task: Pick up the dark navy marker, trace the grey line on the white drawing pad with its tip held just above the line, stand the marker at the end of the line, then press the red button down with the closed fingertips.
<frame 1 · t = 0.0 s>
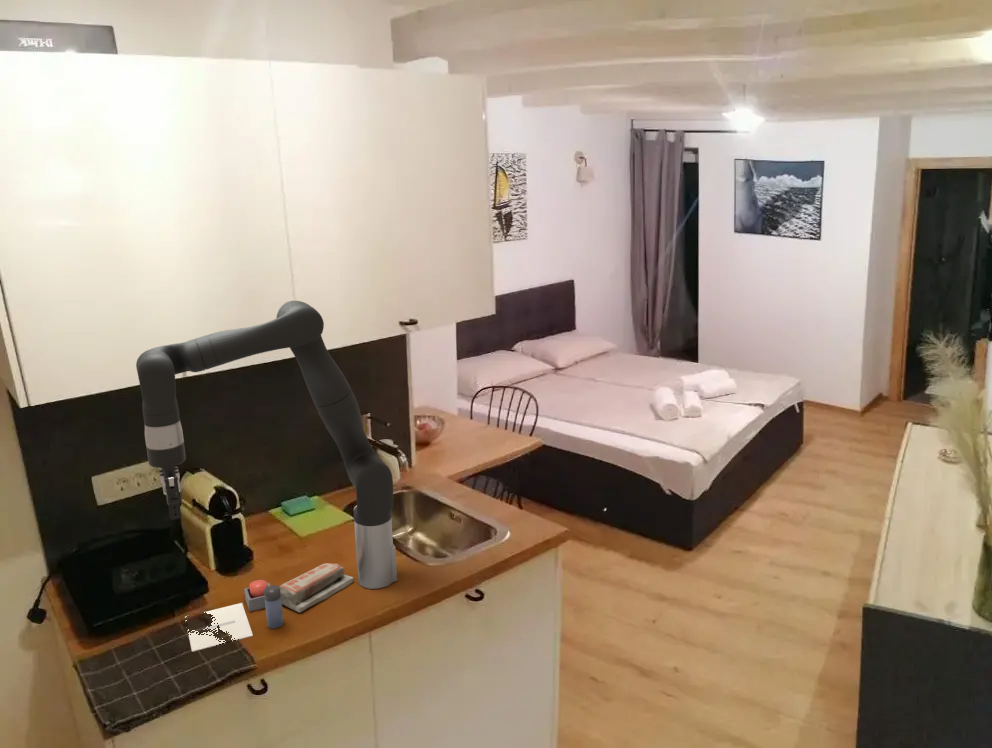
hand: (174, 510, 173), 29 cm above the countertop, tool pointing down, fingers open, 8 cm apart
packaged product: (314, 592, 195), on the countertop, touching button base
done button: (258, 589, 190), point 3 cm above the countertop, slide at 0.0 cm
marker: (275, 623, 182), on the countertop
button base: (260, 602, 191), on the countertop
drawing pad: (218, 626, 181), on the countertop
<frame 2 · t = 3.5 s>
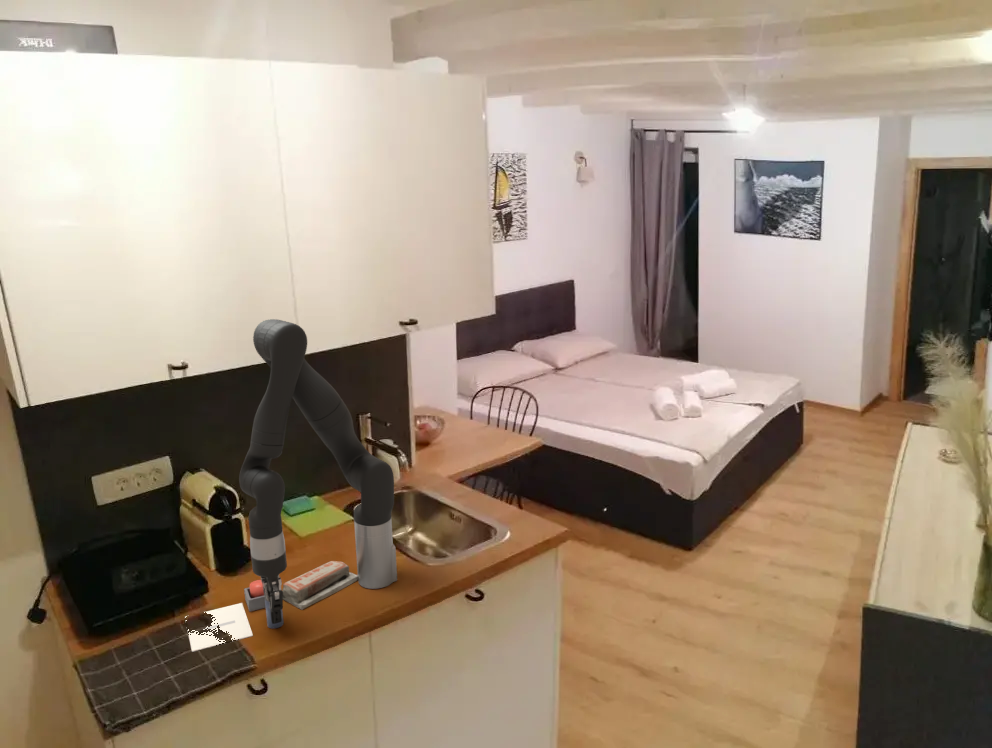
hand: (274, 617, 182), 2 cm above the countertop, tool pointing down, fingers closed on marker, 3 cm apart
packaged product: (319, 590, 197), on the countertop
marker: (275, 624, 182), on the countertop, touching gripper
everything else where it was.
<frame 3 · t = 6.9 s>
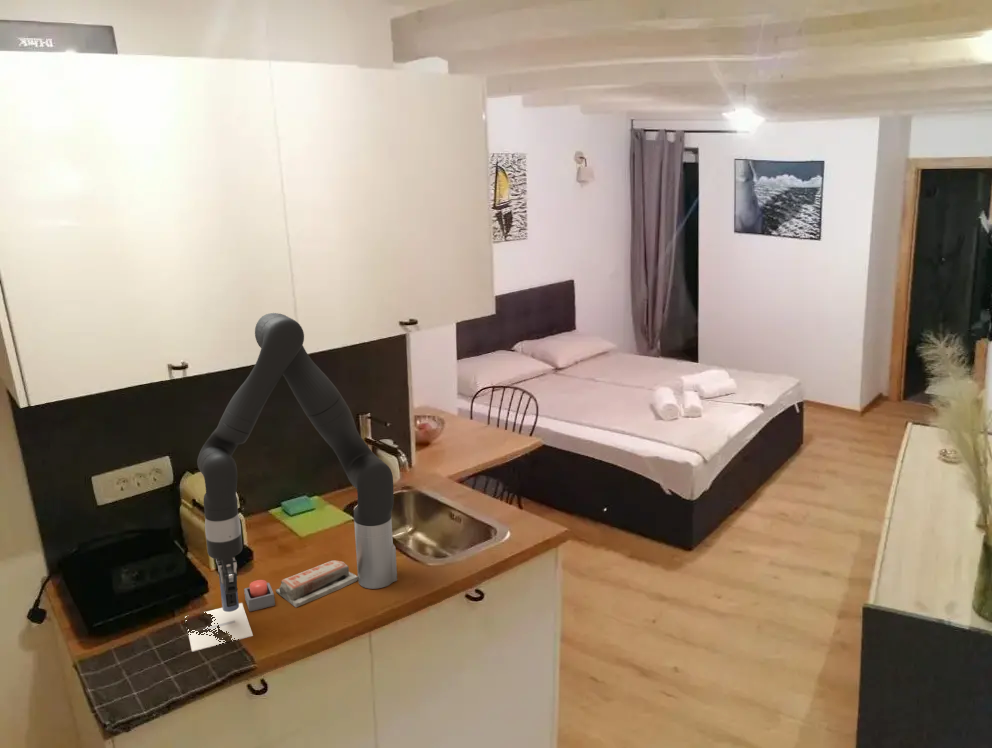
hand: (230, 600, 181), 6 cm above the countertop, tool pointing down, fingers closed on marker, 3 cm apart
marker: (230, 607, 181), point 4 cm above the countertop, touching gripper
when the fingers open (2 cm above the countertop, at t = 10.3 s): marker stays where it is, resting on drawing pad.
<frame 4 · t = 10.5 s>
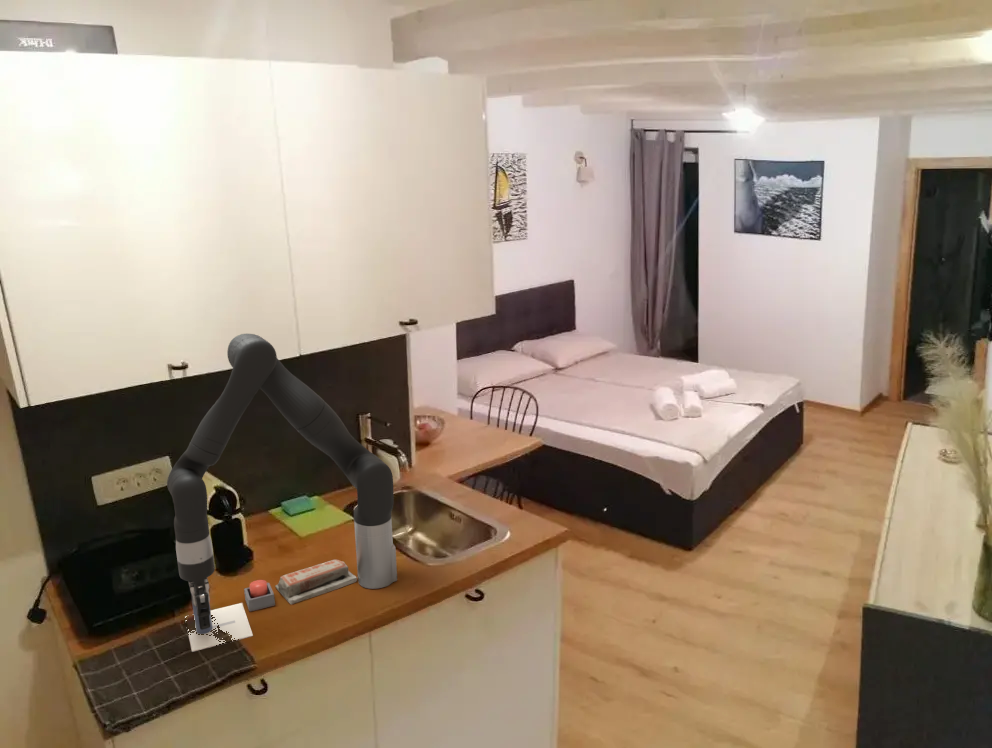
hand: (203, 620, 179), 2 cm above the countertop, tool pointing down, fingers open, 5 cm apart
marker: (204, 629, 180), resting on drawing pad
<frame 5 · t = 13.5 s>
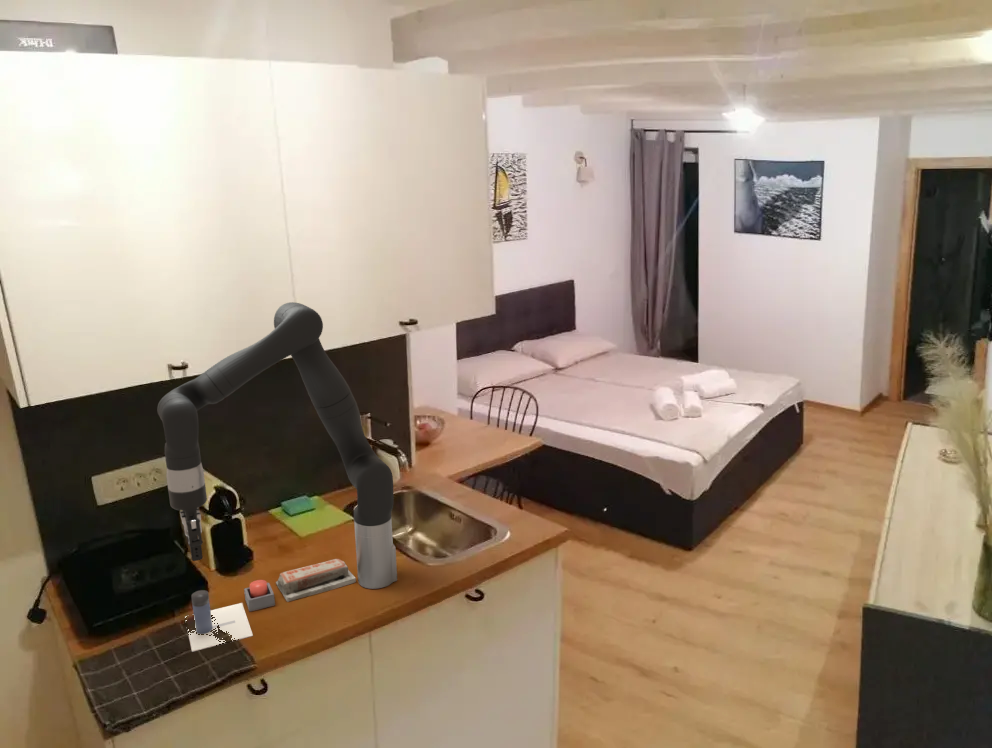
hand: (195, 551, 175), 20 cm above the countertop, tool pointing down, fingers open, 8 cm apart
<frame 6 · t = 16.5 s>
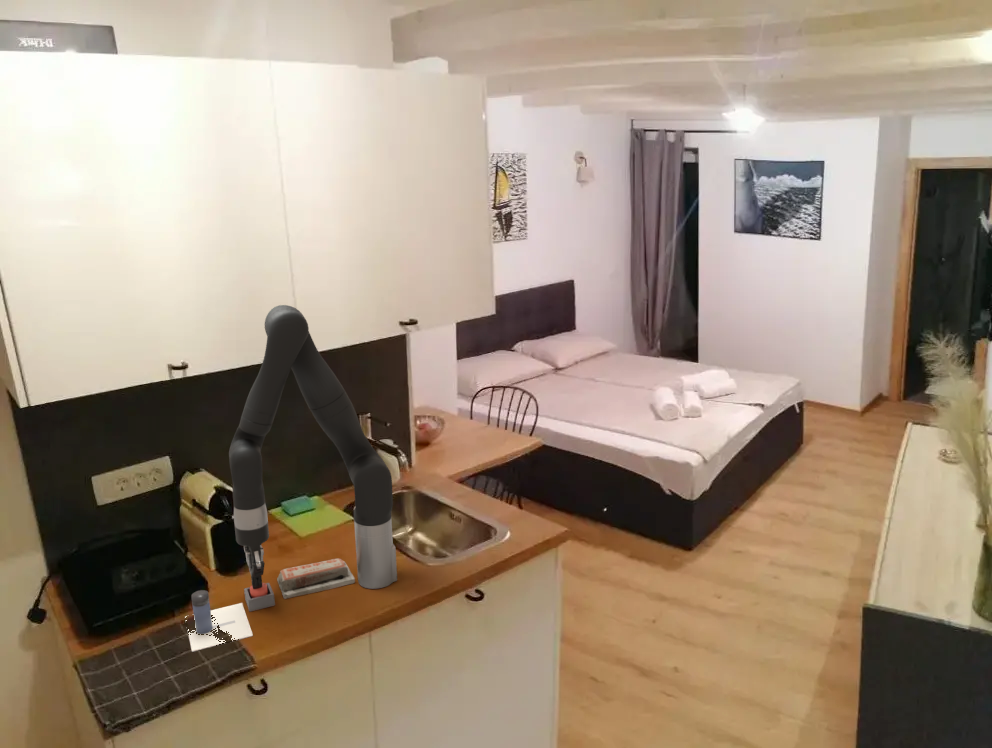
hand: (257, 587, 190), 4 cm above the countertop, tool pointing down, fingers closed
done button: (259, 592, 190), point 3 cm above the countertop, slide at 0.8 cm, touching gripper
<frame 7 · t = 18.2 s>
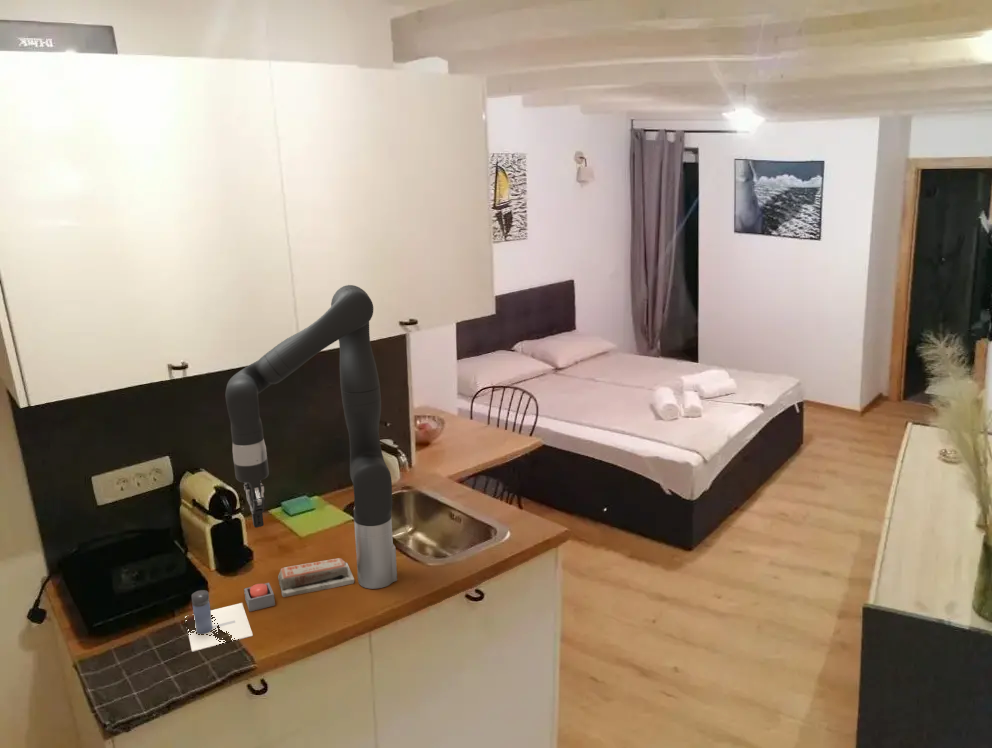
hand: (258, 525, 188), 19 cm above the countertop, tool pointing down, fingers closed
done button: (259, 593, 190), point 2 cm above the countertop, slide at 1.0 cm
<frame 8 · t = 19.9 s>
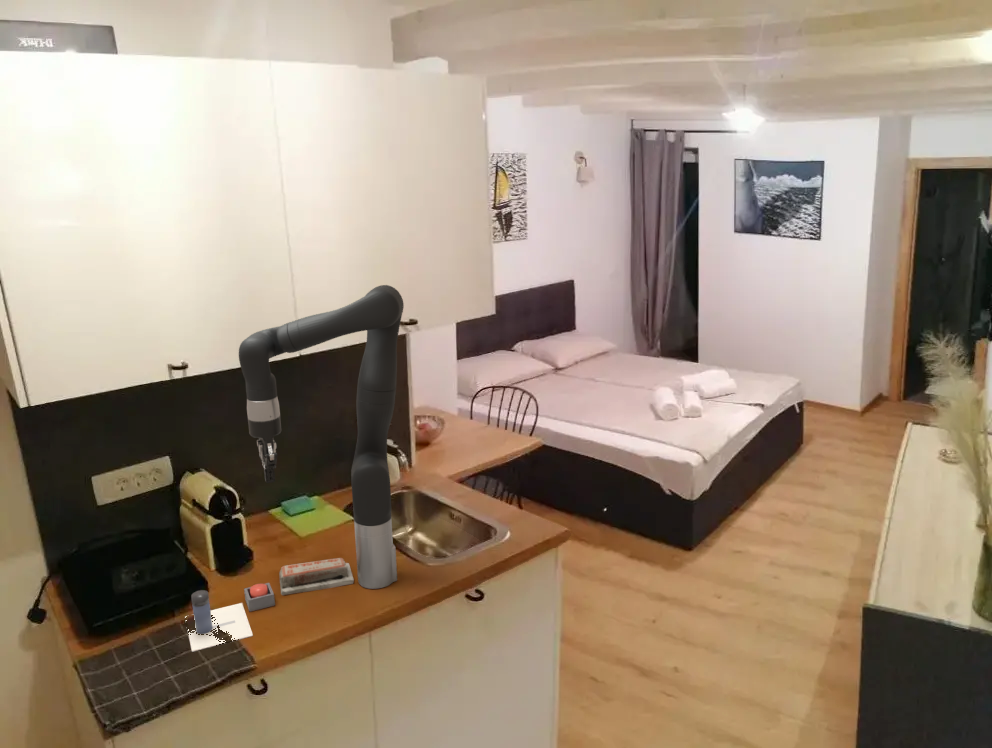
hand: (270, 481, 194), 27 cm above the countertop, tool pointing down, fingers closed
at the end: done button slide at 1.0 cm; marker 0.0 cm from the target spot, resting on drawing pad; marker tilted 0° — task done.
